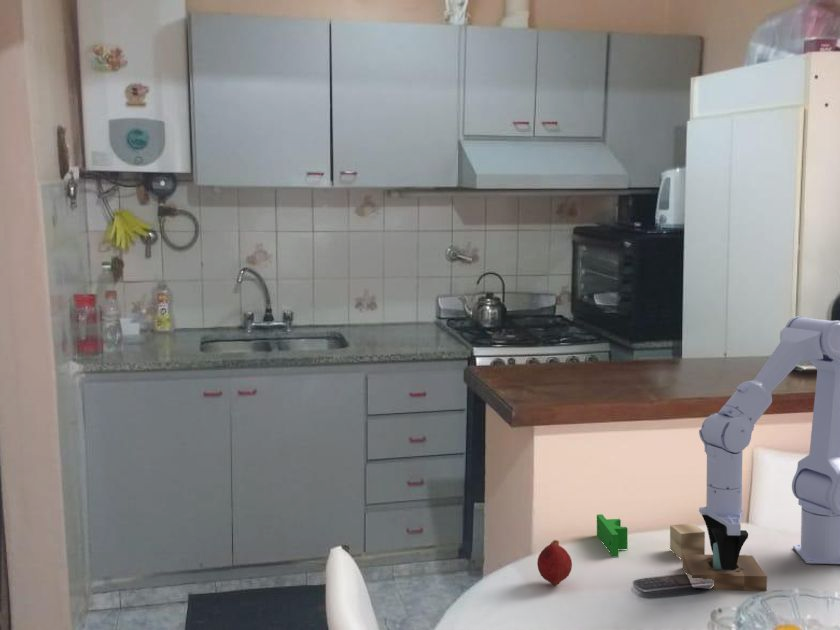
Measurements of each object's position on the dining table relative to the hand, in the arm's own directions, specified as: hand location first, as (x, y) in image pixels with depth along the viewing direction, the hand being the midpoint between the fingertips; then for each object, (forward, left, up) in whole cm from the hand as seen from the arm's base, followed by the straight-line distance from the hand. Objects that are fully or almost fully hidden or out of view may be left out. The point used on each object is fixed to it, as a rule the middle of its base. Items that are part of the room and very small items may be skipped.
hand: (723, 560), depth 148 cm
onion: (+29, +4, -3) cm, 29 cm away
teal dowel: (0, 0, -3) cm, 3 cm away
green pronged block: (+17, -14, -4) cm, 23 cm away
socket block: (0, 0, -3) cm, 3 cm away
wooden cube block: (+4, -11, -3) cm, 12 cm away
